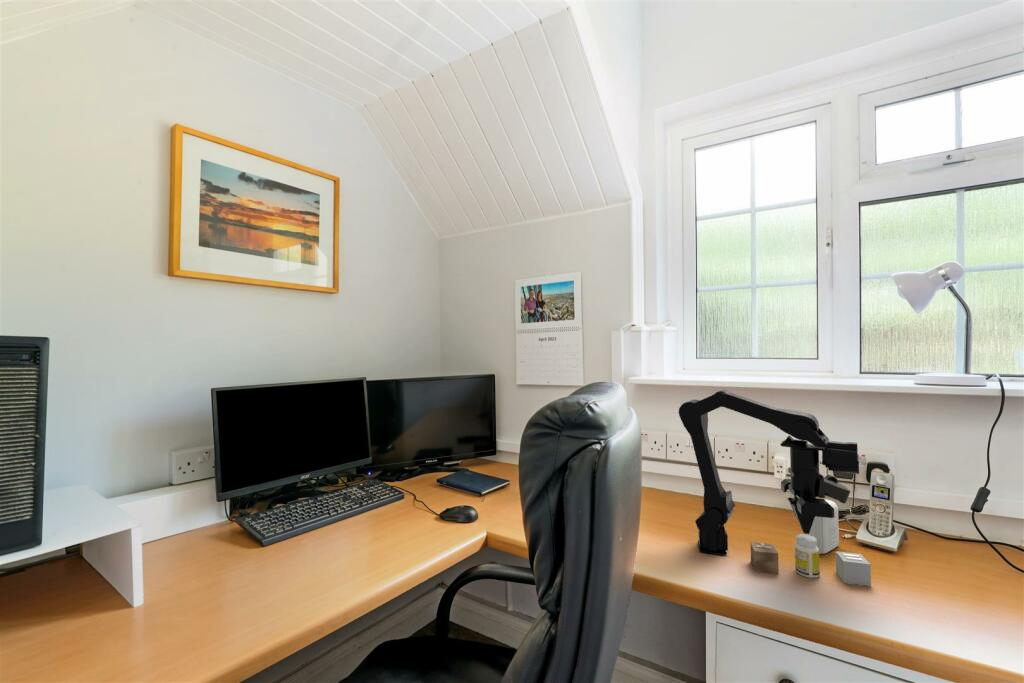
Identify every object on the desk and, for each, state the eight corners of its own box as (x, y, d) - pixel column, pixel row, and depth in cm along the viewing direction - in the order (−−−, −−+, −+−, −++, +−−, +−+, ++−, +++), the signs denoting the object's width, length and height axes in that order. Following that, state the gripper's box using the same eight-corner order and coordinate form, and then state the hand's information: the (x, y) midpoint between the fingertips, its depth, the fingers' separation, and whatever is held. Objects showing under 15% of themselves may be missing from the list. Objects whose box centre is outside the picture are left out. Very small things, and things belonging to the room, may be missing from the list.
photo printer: (823, 539, 122) (822, 494, 122) (841, 545, 118) (840, 499, 118) (805, 550, 116) (804, 502, 116) (824, 556, 113) (823, 507, 113)
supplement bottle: (816, 569, 106) (815, 534, 106) (822, 579, 102) (821, 543, 102) (793, 567, 108) (792, 532, 108) (798, 576, 103) (797, 540, 103)
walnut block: (754, 571, 106) (754, 549, 106) (750, 562, 111) (750, 541, 111) (778, 574, 104) (778, 552, 104) (773, 564, 109) (773, 543, 109)
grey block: (844, 583, 100) (843, 560, 100) (836, 572, 105) (835, 550, 105) (871, 586, 99) (870, 563, 99) (861, 575, 103) (860, 553, 103)
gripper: (862, 481, 93) (864, 555, 93) (830, 459, 111) (831, 521, 111) (801, 477, 97) (802, 548, 97) (779, 456, 115) (781, 516, 115)
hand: (806, 533), depth 105 cm, fingers closed
